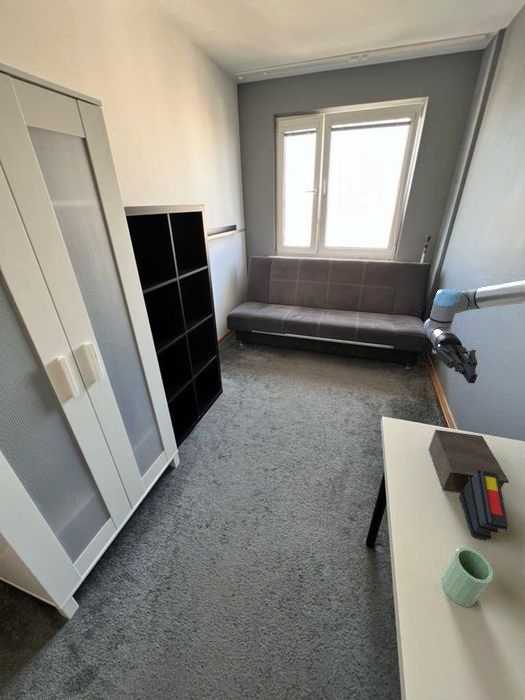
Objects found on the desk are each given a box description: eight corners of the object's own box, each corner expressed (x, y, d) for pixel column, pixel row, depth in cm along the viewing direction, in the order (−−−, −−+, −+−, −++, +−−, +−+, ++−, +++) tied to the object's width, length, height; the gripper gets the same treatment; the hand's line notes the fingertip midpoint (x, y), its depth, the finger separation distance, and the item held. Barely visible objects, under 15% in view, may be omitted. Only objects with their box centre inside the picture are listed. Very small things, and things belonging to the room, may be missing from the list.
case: (494, 499, 74) (506, 480, 71) (442, 490, 77) (450, 471, 74) (472, 456, 87) (481, 437, 83) (428, 449, 90) (434, 431, 86)
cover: (507, 483, 70) (509, 481, 70) (451, 474, 73) (452, 472, 72) (481, 437, 83) (482, 435, 83) (434, 431, 86) (435, 429, 85)
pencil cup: (468, 575, 60) (484, 551, 55) (480, 611, 55) (499, 587, 50) (437, 568, 61) (450, 543, 56) (446, 602, 56) (461, 578, 51)
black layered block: (470, 485, 76) (499, 472, 64) (479, 541, 69) (512, 538, 57) (455, 482, 77) (480, 468, 65) (461, 537, 70) (491, 533, 58)
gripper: (463, 352, 99) (494, 392, 79) (423, 349, 102) (443, 387, 82) (470, 333, 96) (504, 370, 75) (428, 331, 98) (451, 365, 78)
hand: (472, 379), depth 79 cm, fingers closed
